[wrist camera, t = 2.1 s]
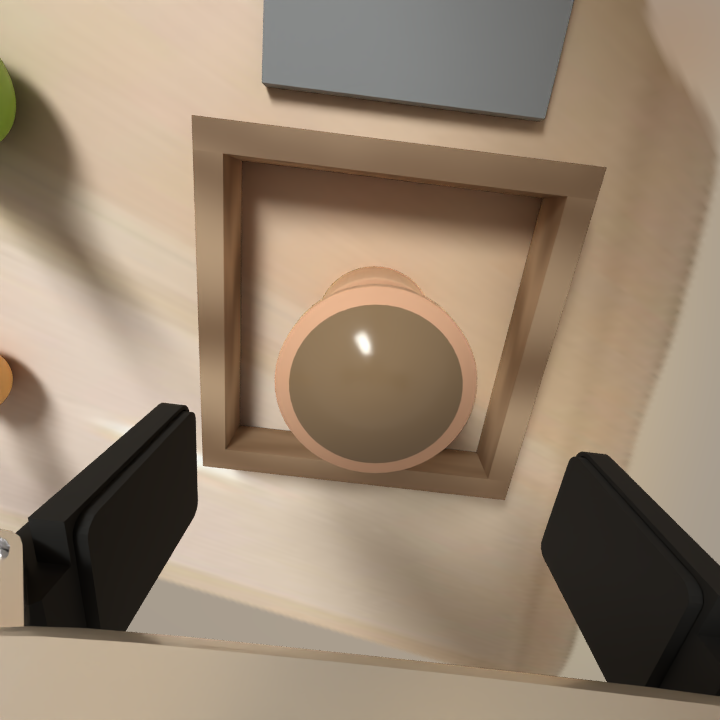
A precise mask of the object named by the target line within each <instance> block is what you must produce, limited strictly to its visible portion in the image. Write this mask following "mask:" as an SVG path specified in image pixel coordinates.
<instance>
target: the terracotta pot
mask: <svg viewBox="0 0 720 720" xmlns="http://www.w3.org/2000/svg"><path fill="white" fill-rule="evenodd" d="M275 392H276V397H277V402H278V405H279V409H280V412H281V414H282V416H283V418H284V420H285V422H286V424H287V426H288V427H289V429H290V430H291V432H292V433H293V434H294V436H295V437H296V438H297V439H298V440H299V441H300V442H301V443H302V444H303V445H304V446H305V447H306V448H307V449H308V450H310V451H311V452H312V453H314V454H315V455H317V456H318V457H320V458H321V459H323V460H325V461H327V462H329V463H331V464H333V465H336V466H338V467H341V468H345V469H348V470H352V471H358V472H364V473H388V472H394V471H400V470H403V469H407V468H411V467H413V466H416V465H418V464H421V463H423V462H425V461H427V460H429V459H430V458H432V457H434V456H435V455H437V454H438V453H440V452H441V451H442V450H444V449H445V448H446V447H447V446H448V445H449V444H450V443H451V442H452V441H453V440H454V439H455V438H456V437H457V435H458V434H459V433H460V432H461V430H462V428H463V427H464V425H465V424H466V422H467V420H468V418H469V416H470V414H471V412H472V408H473V405H474V402H475V398H476V392H477V370H476V363H475V360H474V356H473V352H472V350H471V348H470V345H469V343H468V341H467V339H466V338H465V336H464V334H463V333H462V331H461V330H460V328H459V327H458V326H457V324H456V323H455V322H454V320H453V319H452V318H451V317H450V316H449V315H448V313H447V312H445V311H444V310H443V309H442V308H441V307H440V306H439V305H438V304H436V303H435V302H433V301H432V300H430V299H429V298H427V297H425V295H424V294H423V292H422V291H421V289H420V288H419V287H418V286H417V284H416V283H415V282H413V281H412V280H411V279H410V278H409V277H407V276H406V275H404V274H402V273H400V272H398V271H396V270H393V269H390V268H385V267H375V266H373V267H364V268H359V269H356V270H353V271H351V272H349V273H347V274H345V275H343V276H342V277H340V278H339V279H337V280H336V281H335V282H334V283H333V284H332V285H331V286H330V288H329V289H328V290H327V292H326V293H325V295H324V296H323V298H322V300H320V301H319V302H317V303H316V304H314V305H313V306H312V307H311V308H310V309H309V310H307V311H306V312H305V313H304V314H303V315H302V317H301V318H300V319H299V320H298V321H297V323H296V324H295V325H294V327H293V328H292V330H291V331H290V333H289V335H288V336H287V338H286V340H285V341H284V344H283V346H282V348H281V351H280V353H279V356H278V360H277V364H276V371H275Z"/></svg>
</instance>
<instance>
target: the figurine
mask: <svg viewBox="0 0 720 720" xmlns="http://www.w3.org/2000/svg"><path fill="white" fill-rule="evenodd" d="M12 384H13V375H12V371H11V369H10V366H9V365H8V363H7V362H6V360H5V359H4V358H3V357H2V356H1V355H0V404H1V403H2V402H3V401H4V400H5V399H6V398H7V396H8V395H9V393H10V391H11V388H12Z"/></svg>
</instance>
